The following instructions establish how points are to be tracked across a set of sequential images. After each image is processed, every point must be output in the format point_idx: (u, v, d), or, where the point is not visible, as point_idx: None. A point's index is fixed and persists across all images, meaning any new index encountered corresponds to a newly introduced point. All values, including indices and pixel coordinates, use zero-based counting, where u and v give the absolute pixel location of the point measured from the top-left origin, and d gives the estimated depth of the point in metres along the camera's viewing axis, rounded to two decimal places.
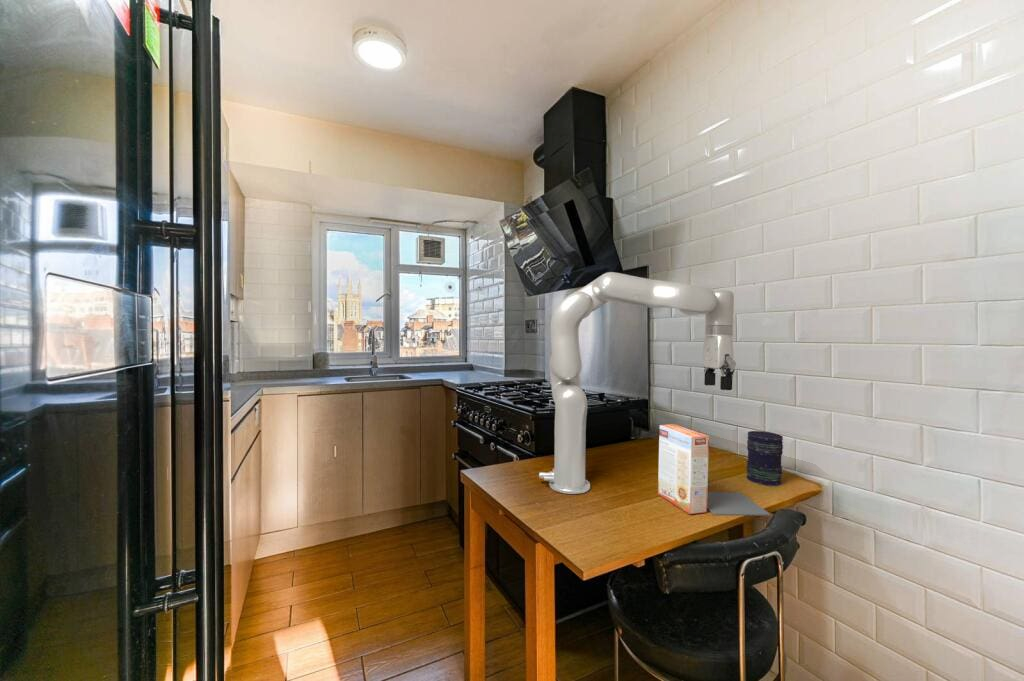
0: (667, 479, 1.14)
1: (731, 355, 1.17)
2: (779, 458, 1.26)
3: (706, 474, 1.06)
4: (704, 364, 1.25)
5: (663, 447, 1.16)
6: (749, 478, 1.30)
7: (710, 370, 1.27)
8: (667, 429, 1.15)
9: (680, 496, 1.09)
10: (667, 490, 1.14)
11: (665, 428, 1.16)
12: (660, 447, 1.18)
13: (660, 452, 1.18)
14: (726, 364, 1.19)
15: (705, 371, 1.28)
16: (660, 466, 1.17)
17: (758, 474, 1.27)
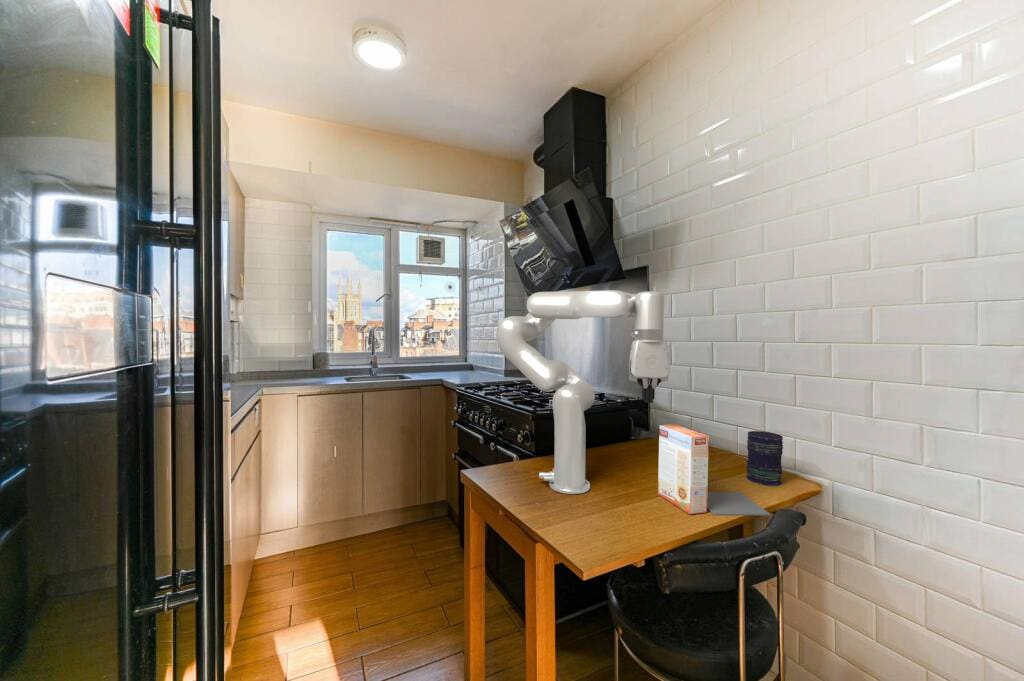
0: (667, 479, 1.14)
1: None
2: (779, 458, 1.26)
3: (706, 474, 1.06)
4: (641, 374, 1.09)
5: (663, 447, 1.16)
6: (749, 478, 1.30)
7: None
8: (667, 429, 1.15)
9: (680, 496, 1.09)
10: (667, 490, 1.14)
11: (665, 428, 1.16)
12: (660, 447, 1.18)
13: (660, 452, 1.18)
14: None
15: (647, 385, 1.11)
16: (660, 466, 1.17)
17: (758, 474, 1.27)
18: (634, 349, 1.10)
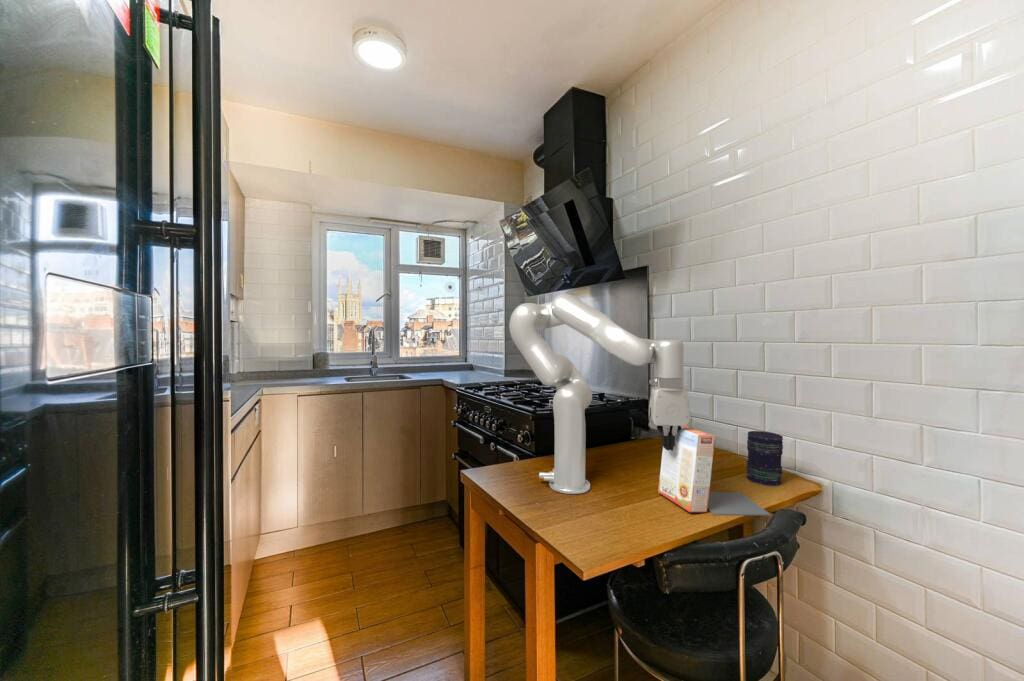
0: (669, 477, 1.14)
1: None
2: (779, 458, 1.26)
3: (709, 474, 1.07)
4: (661, 422, 1.09)
5: None
6: (749, 478, 1.30)
7: None
8: None
9: (681, 494, 1.09)
10: (668, 488, 1.14)
11: None
12: None
13: (664, 450, 1.18)
14: None
15: (667, 433, 1.11)
16: (663, 464, 1.18)
17: (758, 474, 1.27)
18: (654, 397, 1.10)
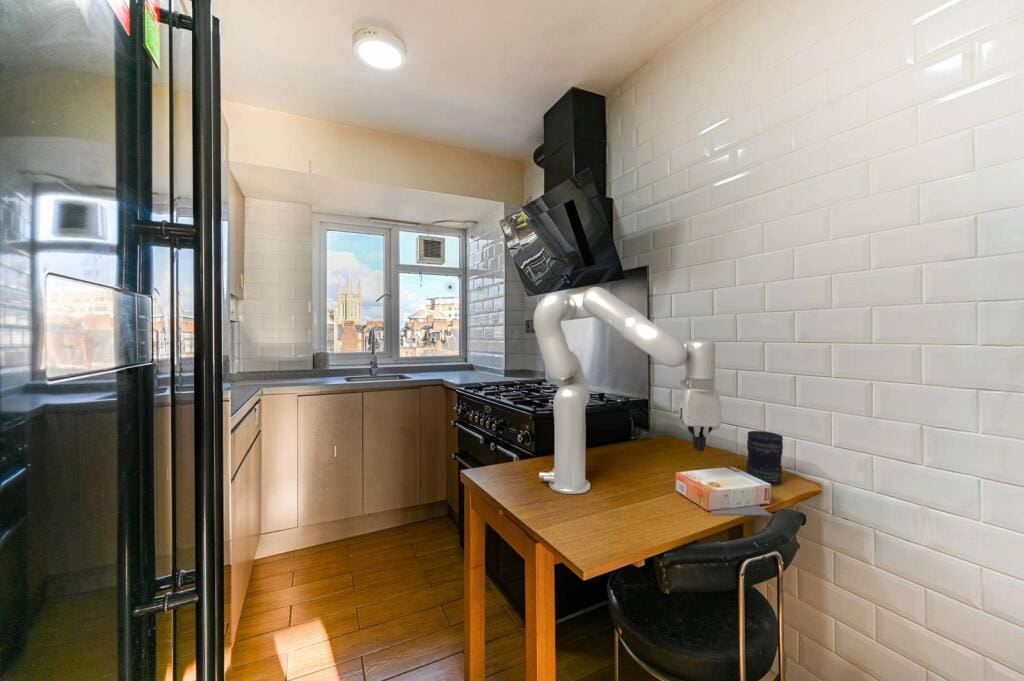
0: (703, 475, 1.17)
1: None
2: (779, 458, 1.26)
3: (740, 505, 1.09)
4: (693, 423, 1.09)
5: (722, 470, 1.21)
6: None
7: None
8: (741, 471, 1.21)
9: (709, 484, 1.11)
10: (693, 476, 1.16)
11: (739, 470, 1.22)
12: (717, 469, 1.22)
13: (713, 469, 1.22)
14: None
15: (698, 434, 1.11)
16: (703, 471, 1.21)
17: (758, 474, 1.27)
18: (686, 398, 1.10)
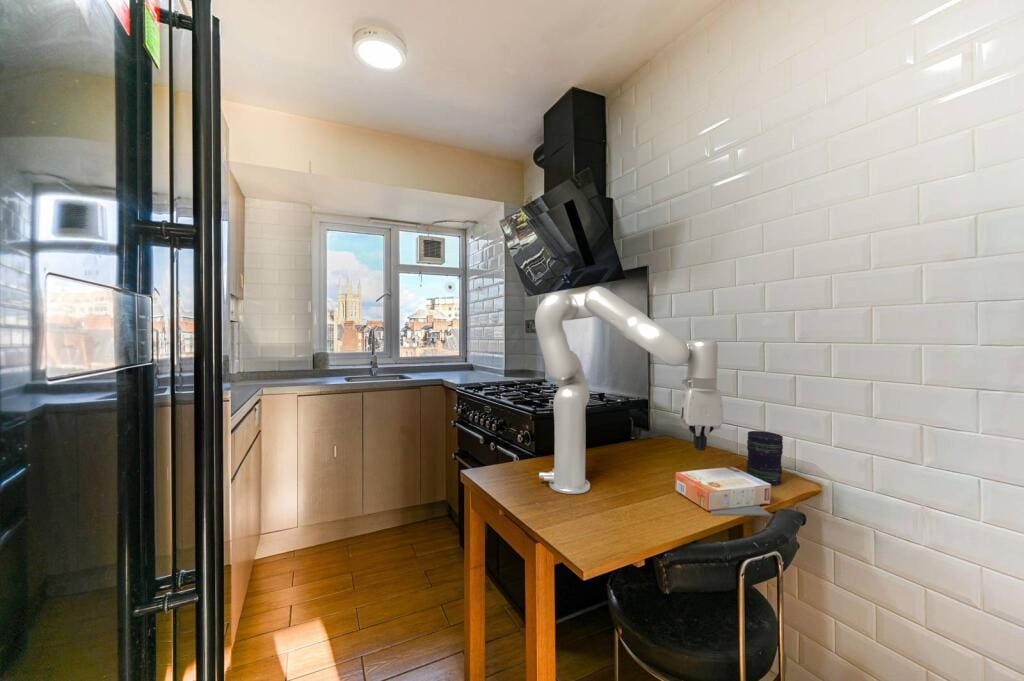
0: (703, 475, 1.17)
1: None
2: (779, 458, 1.26)
3: (740, 505, 1.09)
4: (694, 423, 1.09)
5: (722, 470, 1.21)
6: None
7: None
8: (741, 471, 1.21)
9: (709, 484, 1.11)
10: (693, 476, 1.16)
11: (739, 470, 1.22)
12: (717, 469, 1.22)
13: (713, 469, 1.22)
14: None
15: (699, 433, 1.11)
16: (703, 471, 1.21)
17: (758, 474, 1.27)
18: (687, 397, 1.10)
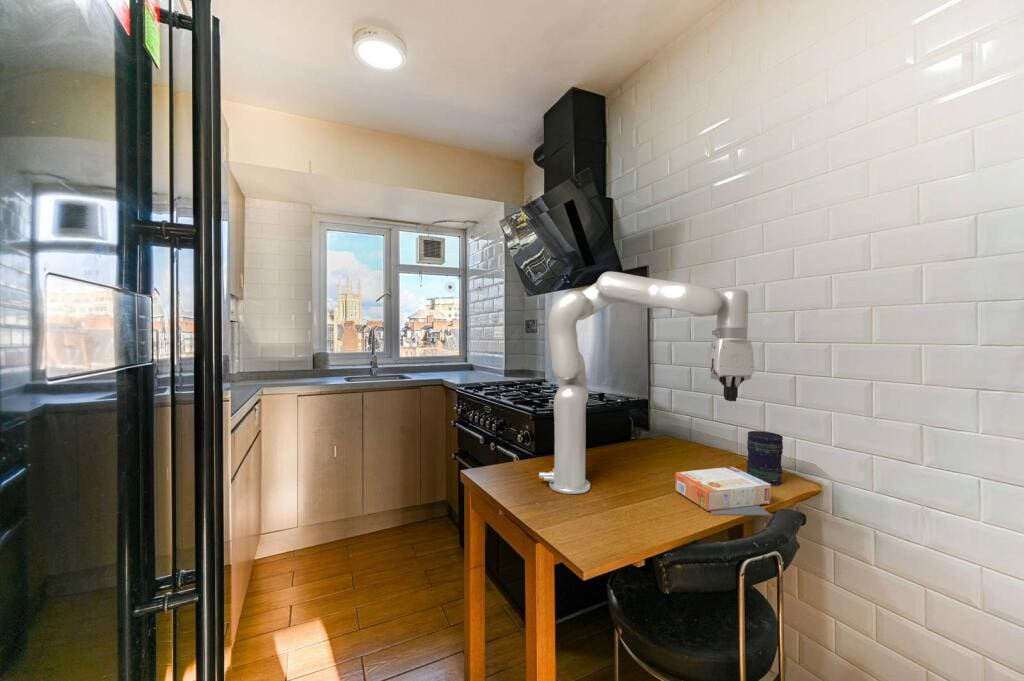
0: (703, 475, 1.17)
1: None
2: (779, 458, 1.26)
3: (740, 505, 1.09)
4: (725, 372, 1.09)
5: (722, 470, 1.21)
6: None
7: None
8: (741, 471, 1.21)
9: (709, 484, 1.11)
10: (693, 476, 1.16)
11: (739, 470, 1.22)
12: (717, 469, 1.22)
13: (713, 469, 1.22)
14: None
15: (730, 384, 1.10)
16: (703, 471, 1.21)
17: (758, 474, 1.27)
18: (718, 347, 1.09)
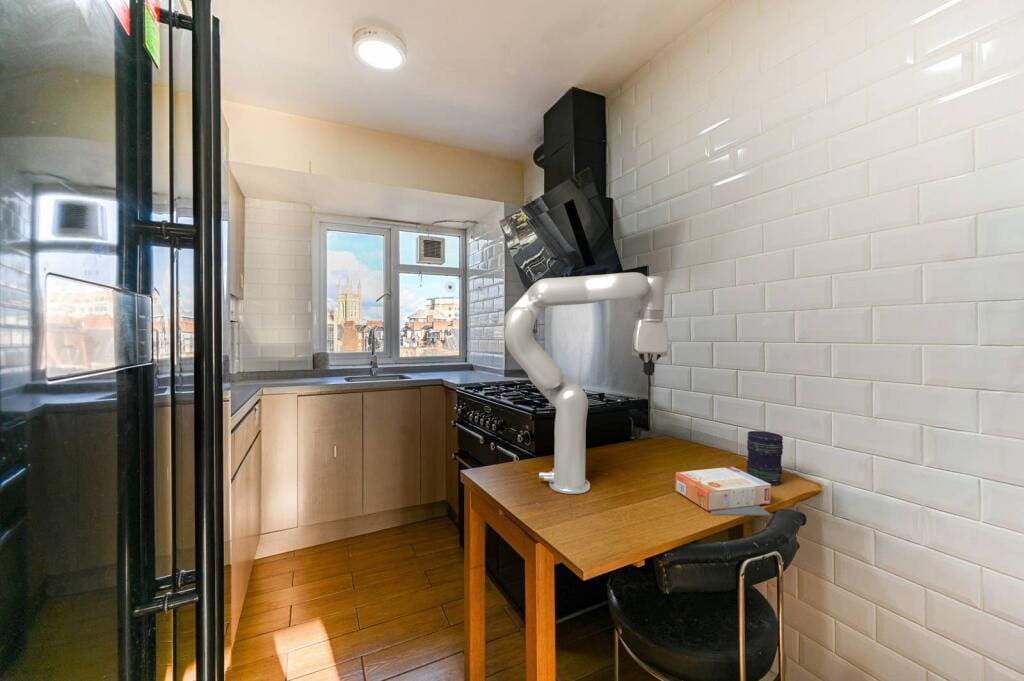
0: (703, 475, 1.17)
1: None
2: (779, 458, 1.26)
3: (740, 505, 1.09)
4: (642, 349, 1.23)
5: (722, 470, 1.21)
6: None
7: None
8: (741, 471, 1.21)
9: (709, 484, 1.11)
10: (693, 476, 1.16)
11: (739, 470, 1.22)
12: (717, 469, 1.22)
13: (713, 469, 1.22)
14: None
15: (648, 360, 1.25)
16: (703, 471, 1.21)
17: (758, 474, 1.27)
18: (637, 327, 1.24)
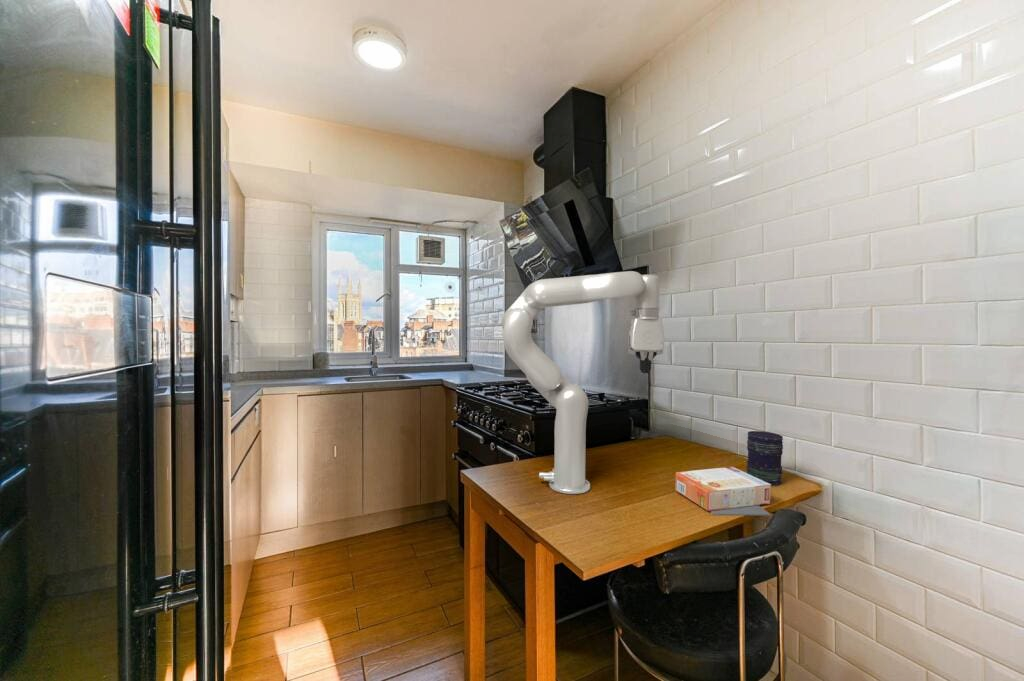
0: (703, 475, 1.17)
1: None
2: (779, 458, 1.26)
3: (740, 505, 1.09)
4: (639, 347, 1.24)
5: (722, 470, 1.21)
6: None
7: None
8: (741, 471, 1.21)
9: (709, 484, 1.11)
10: (693, 476, 1.16)
11: (739, 470, 1.22)
12: (717, 469, 1.22)
13: (713, 469, 1.22)
14: None
15: (644, 358, 1.25)
16: (703, 471, 1.21)
17: (758, 474, 1.27)
18: (633, 325, 1.24)
